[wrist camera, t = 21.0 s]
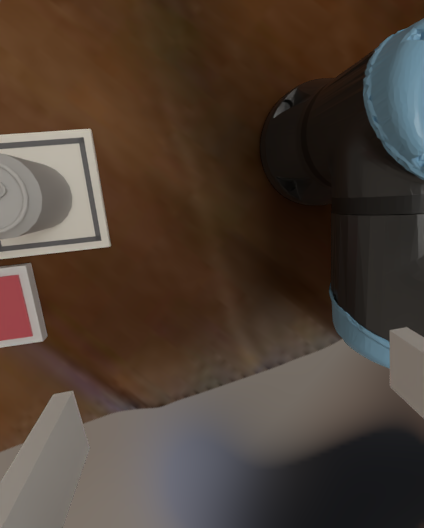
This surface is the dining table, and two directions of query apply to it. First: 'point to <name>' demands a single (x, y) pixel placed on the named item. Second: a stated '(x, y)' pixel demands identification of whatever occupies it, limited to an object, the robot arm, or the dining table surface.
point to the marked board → (81, 185)
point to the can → (30, 197)
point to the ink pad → (20, 307)
